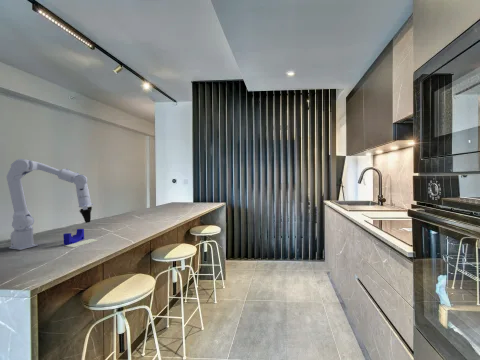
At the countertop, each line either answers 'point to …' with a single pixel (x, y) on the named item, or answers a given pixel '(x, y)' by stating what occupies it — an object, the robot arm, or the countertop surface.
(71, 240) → the cable clip
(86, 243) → the mat
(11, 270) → the countertop surface
